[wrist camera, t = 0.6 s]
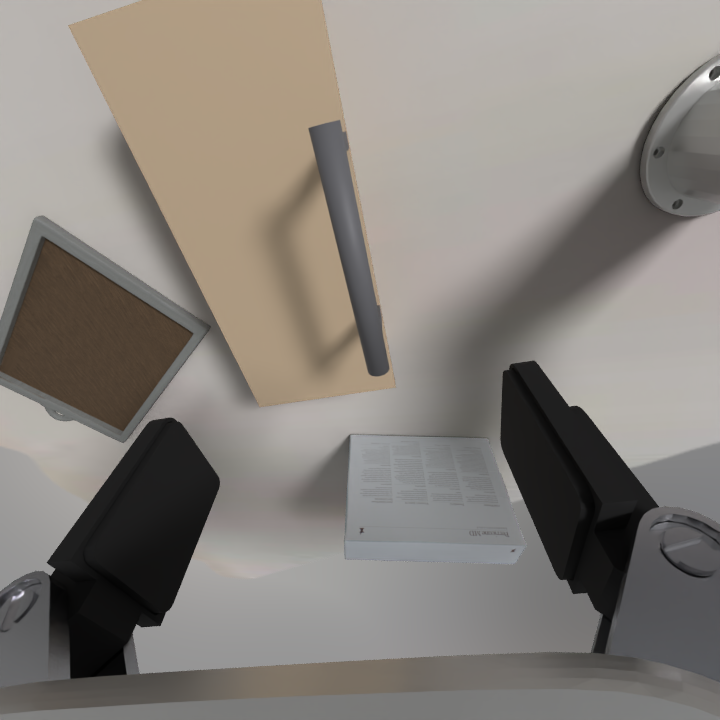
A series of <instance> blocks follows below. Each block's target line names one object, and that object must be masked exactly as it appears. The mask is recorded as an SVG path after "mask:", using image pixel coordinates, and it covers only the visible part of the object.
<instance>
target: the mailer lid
mask: <svg viewBox="0 0 720 720" xmlns="http://www.w3.org/2000/svg"><path fill="white" fill-rule="evenodd" d="M68 26H69V28H70V30H71V32H72V34H73V36H74V38H75V40H76V42H77V44H78V46H79V48H80V50H81V52H82V54H83V56H84V58H85V60H86V62H87V64H88V66H89V68H90V70H91V72H92V74H93V76H94V78H95V80H96V82H97V84H98V86H99V88H100V90H101V92H102V94H103V96H104V98H105V100H106V102H107V104H108V106H109V108H110V110H111V112H112V114H113V116H114V118H115V120H116V122H117V124H118V126H119V128H120V130H121V132H122V134H123V136H124V138H125V140H126V142H127V144H128V146H129V148H130V150H131V152H132V154H133V156H134V158H135V160H136V162H137V164H138V166H139V168H140V170H141V172H142V174H143V176H144V177H145V179H146V181H147V183H148V185H149V187H150V189H151V191H152V193H153V195H154V197H155V199H156V201H157V203H158V205H159V207H160V209H161V211H162V213H163V215H164V217H165V219H166V221H167V223H168V225H169V227H170V229H171V231H172V233H173V235H174V237H175V239H176V241H177V243H178V245H179V247H180V249H181V251H182V253H183V255H184V257H185V259H186V261H187V263H188V265H189V267H190V269H191V271H192V273H193V275H194V277H195V279H196V281H197V283H198V285H199V287H200V289H201V291H202V293H203V295H204V297H205V299H206V301H207V303H208V305H209V307H210V309H211V311H212V313H213V315H214V317H215V319H216V321H217V323H218V325H219V327H220V329H221V331H222V333H223V335H224V337H225V339H226V341H227V343H228V345H229V347H230V349H231V351H232V353H233V355H234V357H235V359H236V361H237V363H238V365H239V367H240V369H241V371H242V373H243V375H244V377H245V379H246V381H247V383H248V385H249V387H250V389H251V391H252V393H253V395H254V397H255V399H256V401H257V403H258V405H259V407H264V406H271V405H278V404H285V403H292V402H299V401H305V400H312V399H319V398H326V397H333V396H340V395H347V394H354V393H361V392H368V391H375V390H381V389H388V388H395V387H396V386H395V379H394V374H393V369H392V363H391V358H390V353H389V348H388V343H387V338H386V332H385V327H384V322H383V317H382V312H381V306H380V301H379V296H378V291H377V286H376V281H375V275H374V270H373V265H372V260H371V255H370V249H369V244H368V239H367V234H366V229H365V224H364V218H363V213H362V208H361V203H360V198H359V192H358V187H357V182H356V177H355V172H354V167H353V161H352V156H351V151H350V146H349V141H348V135H347V130H346V125H345V120H344V115H343V110H342V104H341V99H340V94H339V89H338V84H337V78H336V73H335V68H334V63H333V58H332V53H331V47H330V42H329V37H328V32H327V27H326V21H325V16H324V11H323V6H322V1H321V0H142V1H139V2H136V3H133V4H130V5H127V6H124V7H121V8H118V9H115V10H112V11H109V12H106V13H103V14H100V15H98V16H95V17H92V18H89V19H86V20H83V21H80V22H77V23H74V24H71V25H68Z"/></svg>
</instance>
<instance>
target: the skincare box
mask: <svg viewBox="0 0 720 720" xmlns="http://www.w3.org/2000/svg"><path fill="white" fill-rule="evenodd" d="M526 546H527V545H526V542H525V539H524V538H523V535H522V532H521V529H520V527H519V524H518V521H517V519H516V516H515V513H514V510H513V508H512V505H511V502H510V498H509V495H508V492H507V489H506V486H505V484H504V481H503V478H502V476H501V473H500V471H499V468H498V466H497V463H496V460H495V457H494V455H493V452H492V449H491V446H490V442H489V440H488V438H460V437H422V436H382V435H350V442H349V459H348V477H347V497H346V519H345V537H344V555H345V559H348V560H349V559H350V560H352V559H353V560H354V559H355V560H356V559H357V560H383V561H415V562H454V563H455V562H456V563H490V564H515V563H516V562H517V560H518V558H519V557H520V555H521V554H522V552H523V551H524V549H525V548H526Z"/></svg>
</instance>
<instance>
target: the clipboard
mask: <svg viewBox="0 0 720 720" xmlns="http://www.w3.org/2000/svg"><path fill="white" fill-rule="evenodd" d="M209 329H210V326H209V325H207V324H206V323H204V322H203V321H201V320H200V319H198V318H197V317H195V316H194V315H192V314H191V313H189V312H188V311H186V310H185V309H183V308H182V307H180V306H179V305H177V304H176V303H174V302H173V301H171V300H170V299H168V298H167V297H165V296H164V295H162V294H161V293H159V292H158V291H156V290H155V289H153V288H152V287H150V286H149V285H147V284H146V283H144V282H143V281H141V280H140V279H138V278H137V277H135V276H134V275H132V274H131V273H129V272H128V271H126V270H125V269H123V268H122V267H120V266H119V265H117V264H116V263H114V262H113V261H111V260H110V259H108V258H107V257H105V256H104V255H102V254H101V253H99V252H98V251H96V250H95V249H93V248H92V247H90V246H89V245H87V244H86V243H84V242H83V241H81V240H80V239H78V238H77V237H75V236H73V235H72V234H70V233H69V232H67V231H66V230H64V229H63V228H61V227H60V226H58V225H57V224H55V223H54V222H52V221H51V220H49V219H48V218H46V217H45V216H39V217H36V218H34V220H33V223H32V226H31V229H30V232H29V235H28V238H27V241H26V244H25V247H24V250H23V253H22V256H21V259H20V262H19V265H18V268H17V272H16V275H15V278H14V281H13V284H12V287H11V290H10V293H9V296H8V299H7V302H6V305H5V308H4V311H3V314H2V317H1V320H0V385H2V386H4V387H6V388H8V389H10V390H13V391H15V392H17V393H19V394H21V395H23V396H25V397H27V398H29V399H31V400H34V401H36V402H38V403H39V404H41V405H42V406H44V407H45V409H46V411H47V412H48V414H49V415H50V416H51V417H53V418H54V419H57V420H60V421H71V420H75V421H78V422H80V423H82V424H84V425H86V426H88V427H90V428H92V429H94V430H96V431H99V432H101V433H103V434H105V435H107V436H109V437H111V438H113V439H115V440H117V441H120V442H122V443H124V442H125V441H126V440H127V439H128V437H129V436H130V435H131V433H132V432H133V431H134V429H135V428H136V427H137V425H138V424H139V423H140V421H141V420H142V419H143V417H144V416H145V415H146V413H147V412H148V411H149V409H150V408H151V407H152V405H153V404H154V403H155V401H156V400H157V399H158V397H159V396H160V395H161V393H162V392H163V391H164V389H165V388H166V387H167V385H168V384H169V383H170V381H171V380H172V379H173V377H174V376H175V375H176V373H177V372H178V371H179V369H180V368H181V367H182V365H183V364H184V363H185V361H186V360H187V359H188V357H189V356H190V355H191V353H192V352H193V351H194V349H195V348H196V347H197V345H198V344H199V343H200V341H201V340H202V339H203V337H204V336H205V335H206V333H207V332H208V331H209ZM56 411H57V412H59V413H61V414H63V415H64V416H63V415H59V414H58V413H56Z"/></svg>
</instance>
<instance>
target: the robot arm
mask: <svg viewBox="0 0 720 720" xmlns="http://www.w3.org/2000/svg"><path fill="white" fill-rule="evenodd" d="M640 176H641V184H642V187H643V190H644V192H645V195H646V196H647V198H648V199H649V200H650V202H651V203H652V204H653V205H655V206H656V207H657V208H659V209H660V210H662V211H665V212H668V213H671V214H675V215H680V216H701V215H706V214H711V213H714V212H717V211H720V54H719V55H717V56H716V57H714V58H712V59H711V60H709V61H708V62H706V63H705V64H704V65H703V66H702V67H700V68H699V69H698V70H697V71H696V72H694V73H693V74H692V75H691V76H690V77H689V78H688V79H687V80H686V81H685V82H684V83H683V84H682V85H681V86H680V87H679V88H678V89H677V90H676V91H675V93H674V94H673V95H672V96H671V98H670V99H669V100H668V102H667V103H666V104H665V106H664V107H663V108H662V110H661V112H660V113H659V115H658V117H657V118H656V120H655V122H654V124H653V125H652V128H651V130H650V132H649V135H648V137H647V139H646V142H645V145H644V149H643V153H642V157H641V166H640ZM500 439H501V446H502V450H503V453H504V455H505V457H506V460H507V462H508V464H509V467H510V469H511V471H512V474H513V476H514V478H515V481H516V483H517V485H518V488H519V490H520V492H521V495H522V497H523V499H524V501H525V504H526V506H527V508H528V511H529V513H530V515H531V518H532V520H533V522H534V524H535V527H536V529H537V532H538V534H539V536H540V538H541V541H542V543H543V545H544V548H545V550H546V552H547V555H548V557H549V559H550V562H551V563H552V566H553V569H554V571H555V573H556V575H557V576H558V578H559V579H560V580H567V581H568V584H569V586H570V588H571V590H572V593H573V594H578V593H588V596H589V598H590V600H591V602H592V604H593V606H594V608H595V610H597V611H599V612H600V613H601V615H600V619H599V623H598V626H597V630H596V634H595V638H594V642H593V646H592V650H591V653H562V652H539V653H511V654H482V655H457V656H439V657H438V656H437V657H420V658H401V659H382V660H364V661H346V662H327V663H312V664H294V665H276V666H260V667H243V668H226V669H211V670H194V671H179V672H163V673H149V674H148V673H147V674H139V668H138V662H137V656H136V650H135V645H134V639H133V634H132V633H133V630H134V628H135V626H136V624H137V625H139V626H141V627H150V626H151V627H152V626H161V623H162V621H163V618H164V616H165V613H166V612H167V611H168V610H169V609H170V608H171V607H172V605H173V603H174V600H175V598H176V595H177V592H178V590H179V588H180V585H181V583H182V580H183V578H184V575H185V573H186V570H187V568H188V565H189V563H190V560H191V558H192V555H193V553H194V550H195V548H196V545H197V543H198V540H199V538H200V535H201V532H202V530H203V527H204V525H205V522H206V520H207V517H208V515H209V512H210V510H211V507H212V505H213V502H214V500H215V497H216V495H217V492H218V490H219V486H220V480H219V477H218V475H217V474H216V472H215V471H214V470H213V468H212V467H211V465H210V464H209V462H208V461H207V459H206V458H205V457H204V455H203V454H202V452H201V451H200V449H199V448H198V446H197V445H196V444H195V442H194V441H193V439H192V438H191V436H190V435H189V434H188V432H187V431H186V429H185V428H184V426H183V425H182V424H181V423H180V422H177V421H176V420H175V419H173V418H165V419H158V420H152V421H150V422H149V423H148V424H147V425H146V426H145V428H144V429H143V431H142V432H141V433H140V435H139V436H138V437H137V439H136V440H135V442H134V443H133V444H132V446H131V447H130V449H129V450H128V451H127V453H126V454H125V455H124V457H123V458H122V460H121V461H120V462H119V464H118V465H117V466H116V468H115V469H114V471H113V472H112V473H111V475H110V476H109V477H108V479H107V480H106V482H105V483H104V484H103V486H102V487H101V488H100V490H99V491H98V493H97V494H96V495H95V497H94V498H93V500H92V501H91V502H90V504H89V505H88V506H87V508H86V509H85V511H84V512H83V513H82V515H81V516H80V517H79V519H78V520H77V522H76V523H75V525H74V526H73V527H72V528H71V530H70V531H69V533H68V534H67V535H66V537H65V538H64V540H63V541H62V542H61V544H60V545H59V546H58V548H57V549H56V551H55V552H54V553H53V555H52V556H51V557H50V559H49V560H48V562H47V563H48V564H49V565H51V566H52V567H54V568H55V571H54V572H53V574H52V575H51V576H50V575H48V574H47V573H45V572H44V571H35V572H32V573H29V574H26V575H24V576H22V577H20V578H19V579H17V580H15V581H13V582H12V583H11V584H9V585H8V586H7V587H5V588H4V589H3V590H2V591H0V720H720V524H718V523H717V522H716V521H714V520H712V519H710V518H708V517H706V516H704V515H702V514H700V513H697V512H694V511H691V510H687V509H683V508H680V507H667V506H664V507H659V506H658V505H657V504H656V502H655V501H654V500H653V498H652V497H651V496H650V495H649V493H648V492H647V491H646V489H645V488H644V487H643V486H642V484H641V483H640V482H639V480H638V479H637V478H636V477H635V475H634V474H633V473H632V472H631V470H630V469H629V468H628V466H627V465H626V464H625V462H624V461H623V460H622V459H621V457H620V456H619V455H618V454H617V452H616V451H615V450H614V448H613V447H612V446H611V445H610V443H609V442H608V441H607V439H606V438H605V437H604V436H603V434H602V433H601V432H600V430H599V429H598V428H597V427H596V425H595V424H594V423H593V421H592V420H591V419H590V418H589V416H588V415H587V414H586V413H585V412H584V411H583V409H582V408H580V407H578V406H571V407H569V406H568V404H567V403H566V402H565V400H564V399H563V398H562V396H561V395H560V394H559V392H558V391H557V390H556V388H555V387H554V385H553V384H552V383H551V381H550V380H549V379H548V377H547V376H546V375H545V373H544V372H543V371H542V369H541V368H540V367H539V365H538V364H537V363H536V362H535V361H528V362H521V363H515V364H511V365H510V368H509V370H506V371H504V372H503V383H502V410H501V438H500Z"/></svg>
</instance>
